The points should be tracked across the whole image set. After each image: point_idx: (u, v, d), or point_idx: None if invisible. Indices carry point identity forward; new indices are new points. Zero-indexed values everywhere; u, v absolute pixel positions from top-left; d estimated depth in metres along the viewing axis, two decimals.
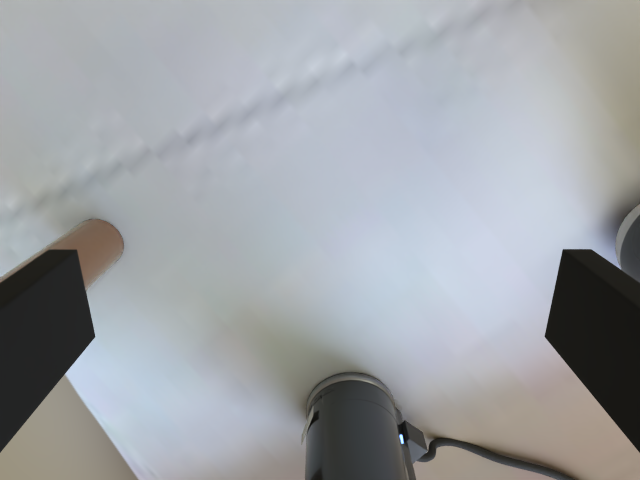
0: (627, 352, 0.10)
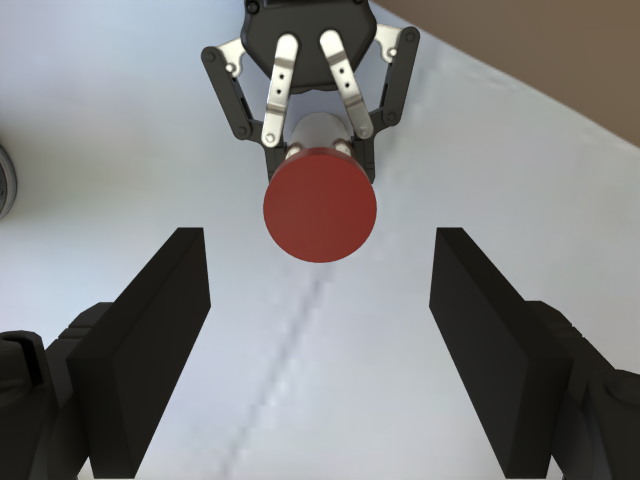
0: (463, 310, 0.11)
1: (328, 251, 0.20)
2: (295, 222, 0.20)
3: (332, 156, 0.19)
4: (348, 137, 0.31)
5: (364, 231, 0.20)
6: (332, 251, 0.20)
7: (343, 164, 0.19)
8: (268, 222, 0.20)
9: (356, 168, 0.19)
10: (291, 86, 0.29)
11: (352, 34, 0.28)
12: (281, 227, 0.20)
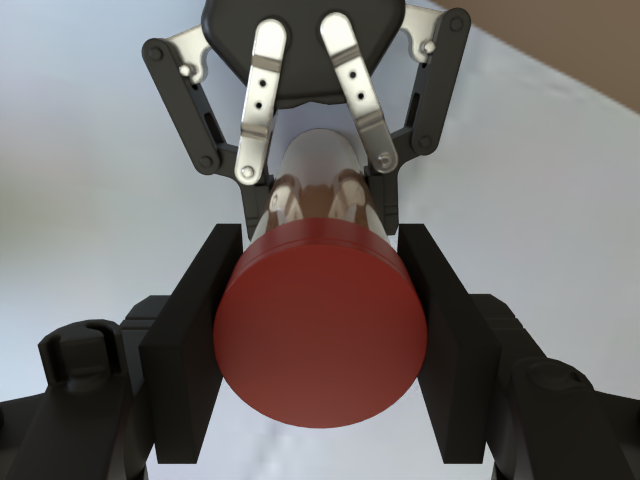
0: None
1: (335, 410, 0.11)
2: (274, 363, 0.11)
3: (344, 248, 0.10)
4: (360, 169, 0.22)
5: (403, 378, 0.11)
6: (343, 410, 0.11)
7: (366, 262, 0.10)
8: (223, 363, 0.11)
9: (391, 269, 0.10)
10: (277, 97, 0.19)
11: (369, 20, 0.18)
12: (247, 371, 0.11)
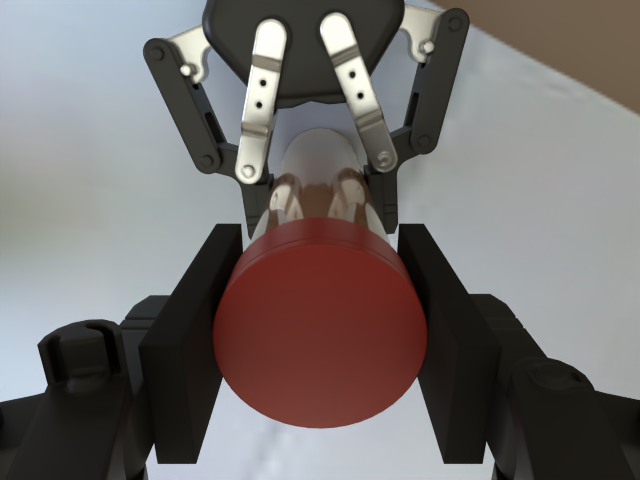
0: None
1: (398, 312, 0.10)
2: (352, 377, 0.11)
3: (213, 346, 0.10)
4: (360, 168, 0.22)
5: (340, 258, 0.10)
6: (397, 305, 0.10)
7: (221, 326, 0.10)
8: (362, 416, 0.11)
9: (220, 304, 0.10)
10: (278, 97, 0.20)
11: (368, 20, 0.19)
12: (367, 395, 0.11)
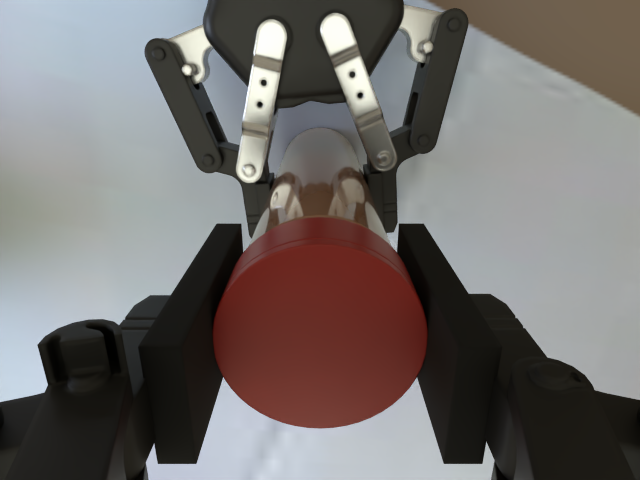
0: None
1: (263, 286, 0.10)
2: (351, 307, 0.10)
3: (347, 424, 0.11)
4: (360, 167, 0.22)
5: (225, 348, 0.10)
6: (256, 289, 0.10)
7: (324, 421, 0.11)
8: (400, 284, 0.10)
9: (301, 425, 0.11)
10: (278, 96, 0.20)
11: (368, 20, 0.19)
12: (372, 286, 0.10)
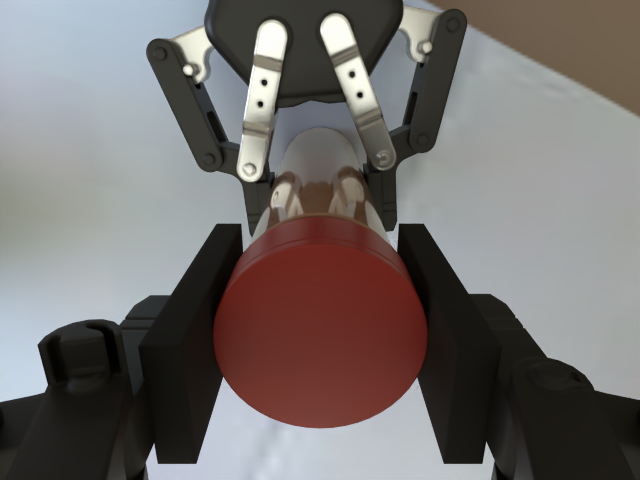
0: None
1: (273, 399, 0.11)
2: (271, 327, 0.10)
3: (416, 296, 0.10)
4: (359, 166, 0.22)
5: (346, 416, 0.11)
6: (278, 404, 0.11)
7: (417, 319, 0.10)
8: (232, 293, 0.10)
9: (426, 338, 0.10)
10: (279, 96, 0.20)
11: (367, 20, 0.19)
12: (243, 315, 0.10)
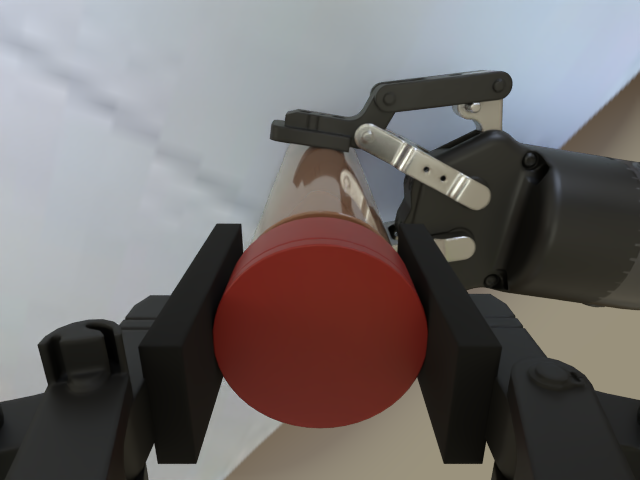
0: None
1: (273, 399, 0.11)
2: (271, 327, 0.10)
3: (416, 296, 0.10)
4: None
5: (346, 416, 0.11)
6: (278, 403, 0.11)
7: (417, 318, 0.10)
8: (233, 293, 0.10)
9: (426, 338, 0.10)
10: (424, 183, 0.22)
11: (456, 267, 0.23)
12: (244, 315, 0.10)
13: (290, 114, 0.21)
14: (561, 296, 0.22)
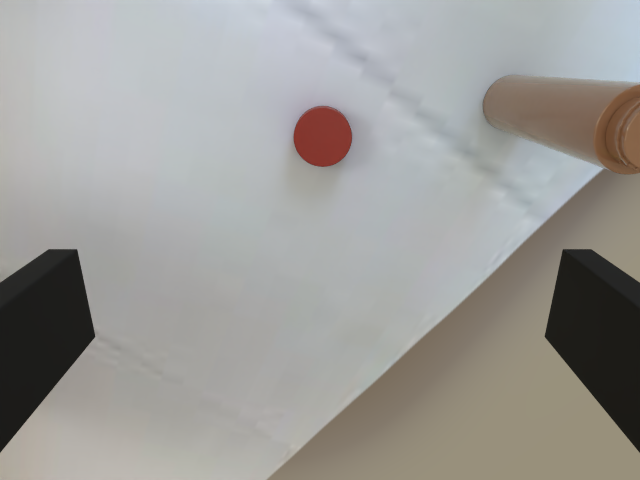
0: (627, 352, 0.10)
1: (309, 156, 0.39)
2: (309, 132, 0.38)
3: (347, 123, 0.38)
4: None
5: (330, 162, 0.39)
6: (310, 157, 0.39)
7: (348, 130, 0.38)
8: (300, 122, 0.38)
9: (351, 136, 0.38)
10: None
11: None
12: (302, 129, 0.38)
13: None
14: None
